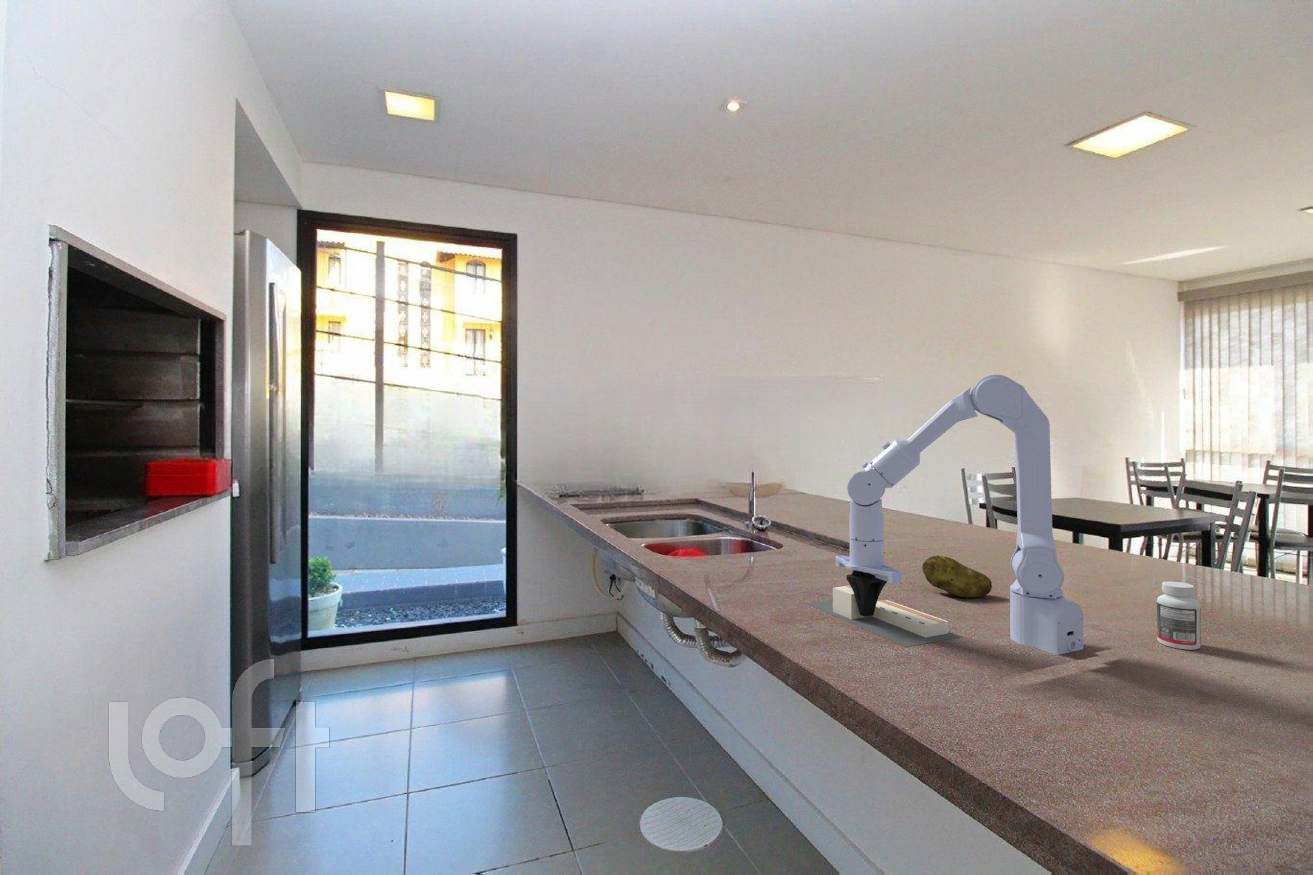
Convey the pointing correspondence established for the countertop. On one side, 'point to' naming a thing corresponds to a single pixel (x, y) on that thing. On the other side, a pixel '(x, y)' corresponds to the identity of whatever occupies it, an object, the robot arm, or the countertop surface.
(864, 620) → the mat
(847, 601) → the stub
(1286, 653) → the countertop surface
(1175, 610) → the pill bottle
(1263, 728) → the countertop surface
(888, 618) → the cream striped bar
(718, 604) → the countertop surface
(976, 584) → the potato
